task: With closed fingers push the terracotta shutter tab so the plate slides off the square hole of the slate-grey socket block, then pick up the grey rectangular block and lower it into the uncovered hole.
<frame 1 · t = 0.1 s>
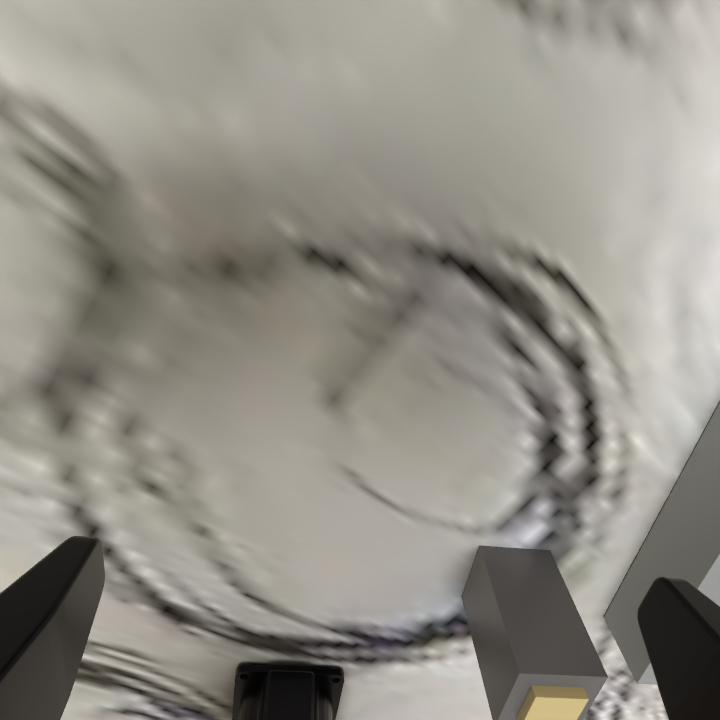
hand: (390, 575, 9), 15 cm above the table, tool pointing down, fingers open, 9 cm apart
grey rectangular block: (504, 573, 31), on the table
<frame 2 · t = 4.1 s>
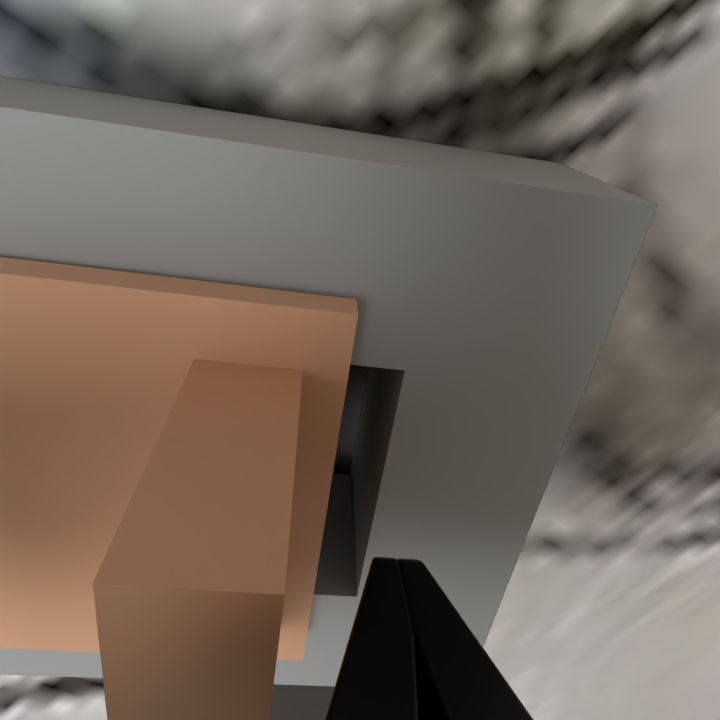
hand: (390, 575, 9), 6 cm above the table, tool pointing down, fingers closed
socket: (171, 369, 13), on the table
grey rectangular block: (316, 691, 20), on the table
shutter: (117, 591, 8), point 6 cm above the table, slide at 1.2 cm, touching gripper
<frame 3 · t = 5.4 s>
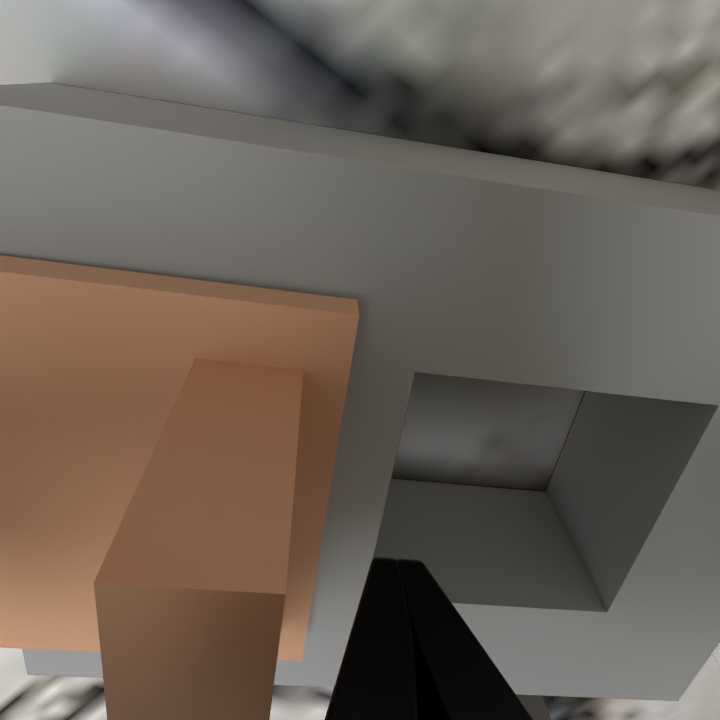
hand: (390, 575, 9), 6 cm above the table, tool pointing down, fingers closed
socket: (402, 393, 14), on the table
grey rectangular block: (467, 698, 21), on the table
shutter: (117, 591, 8), point 6 cm above the table, slide at 7.0 cm, touching gripper
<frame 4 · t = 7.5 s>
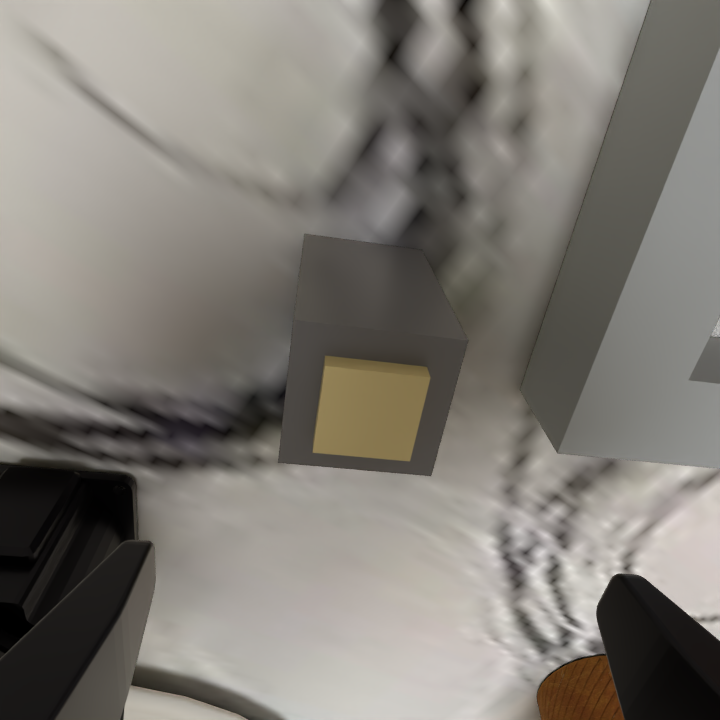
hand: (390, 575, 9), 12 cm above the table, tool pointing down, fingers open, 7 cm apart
disposable coffee cup: (589, 685, 32), on the table
grey rectangular block: (355, 296, 19), on the table
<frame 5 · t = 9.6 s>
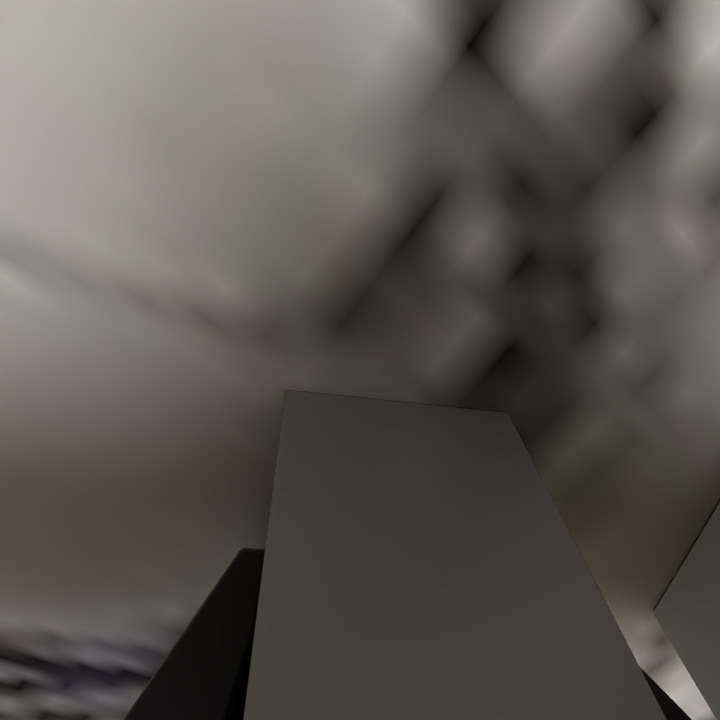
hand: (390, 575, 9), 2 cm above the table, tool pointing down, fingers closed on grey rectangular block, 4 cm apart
grey rectangular block: (379, 488, 11), on the table, touching gripper
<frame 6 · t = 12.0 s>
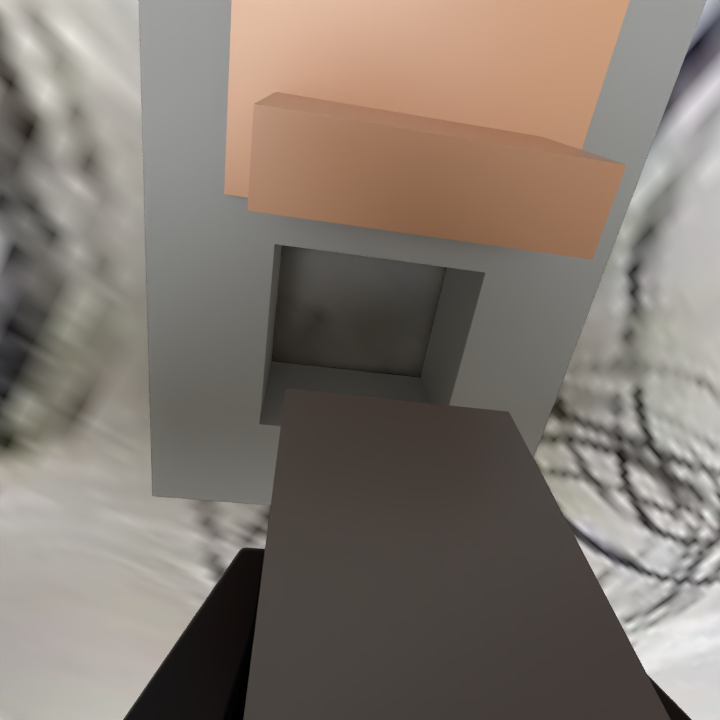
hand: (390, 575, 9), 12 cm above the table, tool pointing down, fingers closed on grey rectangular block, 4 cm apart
socket: (367, 244, 18), on the table
grey rectangular block: (380, 487, 11), point 10 cm above the table, touching gripper
shutter: (432, 81, 10), point 6 cm above the table, slide at 7.0 cm
when the fingers open (5 cm above the table, at t = 14.2 s): grey rectangular block drops 3 cm, resting in socket.
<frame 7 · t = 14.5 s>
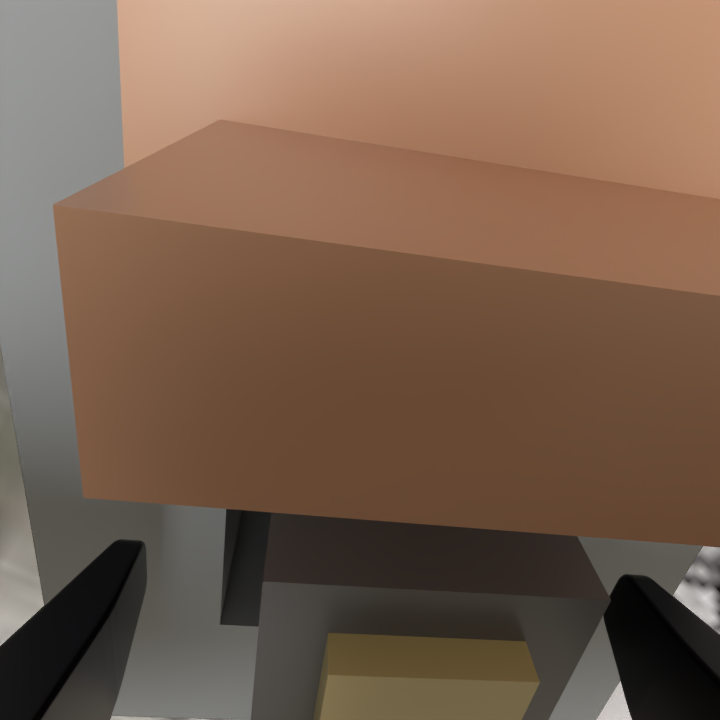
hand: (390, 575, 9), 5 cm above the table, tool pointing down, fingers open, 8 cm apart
socket: (385, 330, 12), on the table
grey rectangular block: (371, 402, 13), resting in socket
shutter: (572, 104, 4), point 6 cm above the table, slide at 7.0 cm
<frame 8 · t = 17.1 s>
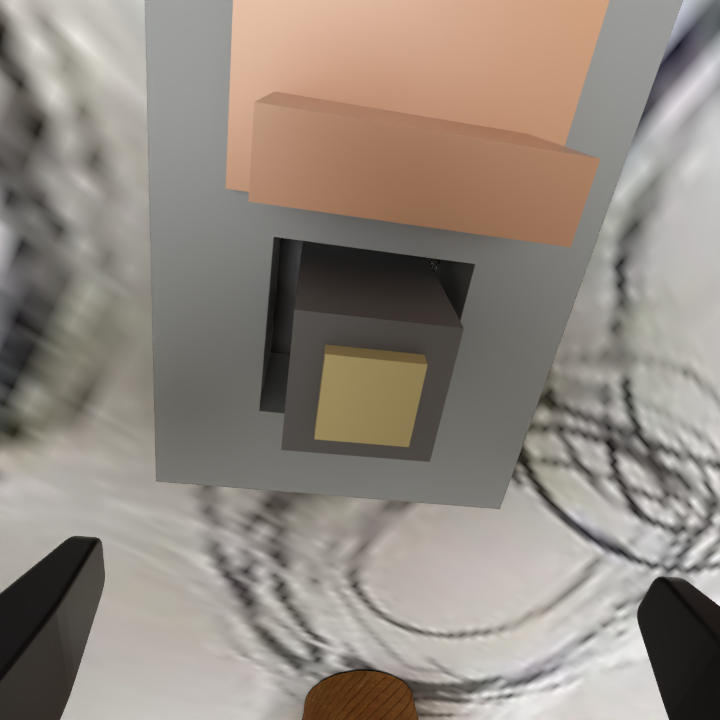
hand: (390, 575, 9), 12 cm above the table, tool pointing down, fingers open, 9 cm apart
disposable coffee cup: (358, 699, 32), on the table
socket: (363, 238, 19), on the table
grey rectangular block: (354, 290, 20), resting in socket
shutter: (421, 81, 11), point 6 cm above the table, slide at 7.0 cm
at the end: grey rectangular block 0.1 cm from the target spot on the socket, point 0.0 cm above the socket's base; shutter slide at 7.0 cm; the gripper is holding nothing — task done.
